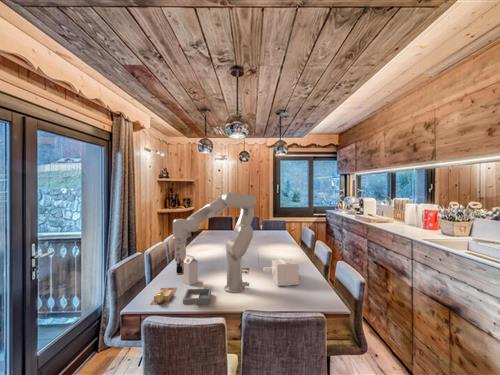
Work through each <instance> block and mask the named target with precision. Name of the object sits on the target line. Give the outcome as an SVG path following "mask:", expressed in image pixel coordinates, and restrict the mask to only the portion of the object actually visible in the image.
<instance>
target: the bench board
mask: <svg viewBox="0 0 500 375" xmlns="http://www.w3.org/2000/svg"><path fill="white" fill-rule="evenodd" d="M159 290H173V296H172V297H171V298H170V300H169V301H164V303H163V304H160V305H158V304H157V301H154V299H153V300H152V301H151V303H150V304H149V305H150V306H163V305H164V306H165V305H170V304H171V301H172V299H173V297H174V295H175V294H176V292H177V290H178V287H161V288H160V289H159Z"/></svg>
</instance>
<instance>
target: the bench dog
mask: <svg viewBox="0 0 500 375" xmlns="http://www.w3.org/2000/svg"><path fill="white" fill-rule="evenodd" d="M156 293H157V292H156ZM163 303H164V293H157V304H158V305H157V306H161V305H160V304H163Z"/></svg>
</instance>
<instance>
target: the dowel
mask: <svg viewBox="0 0 500 375" xmlns="http://www.w3.org/2000/svg"><path fill="white" fill-rule="evenodd" d="M179 263H180V262H179ZM183 274H184V261H182V273H177V272H176V275H177V276H183Z"/></svg>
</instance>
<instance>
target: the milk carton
mask: <svg viewBox="0 0 500 375" xmlns="http://www.w3.org/2000/svg"><path fill="white" fill-rule="evenodd" d="M198 265H199V264H198V260H197V259H195V257H194V256H193V255H189V254H186V258H185V260H184V274H183V275H182V284H185V285H186V286H187V285H188V286H191V285H194V284H196V283H198V281H199V274H198V273H199V270H198V268H199V266H198Z"/></svg>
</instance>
